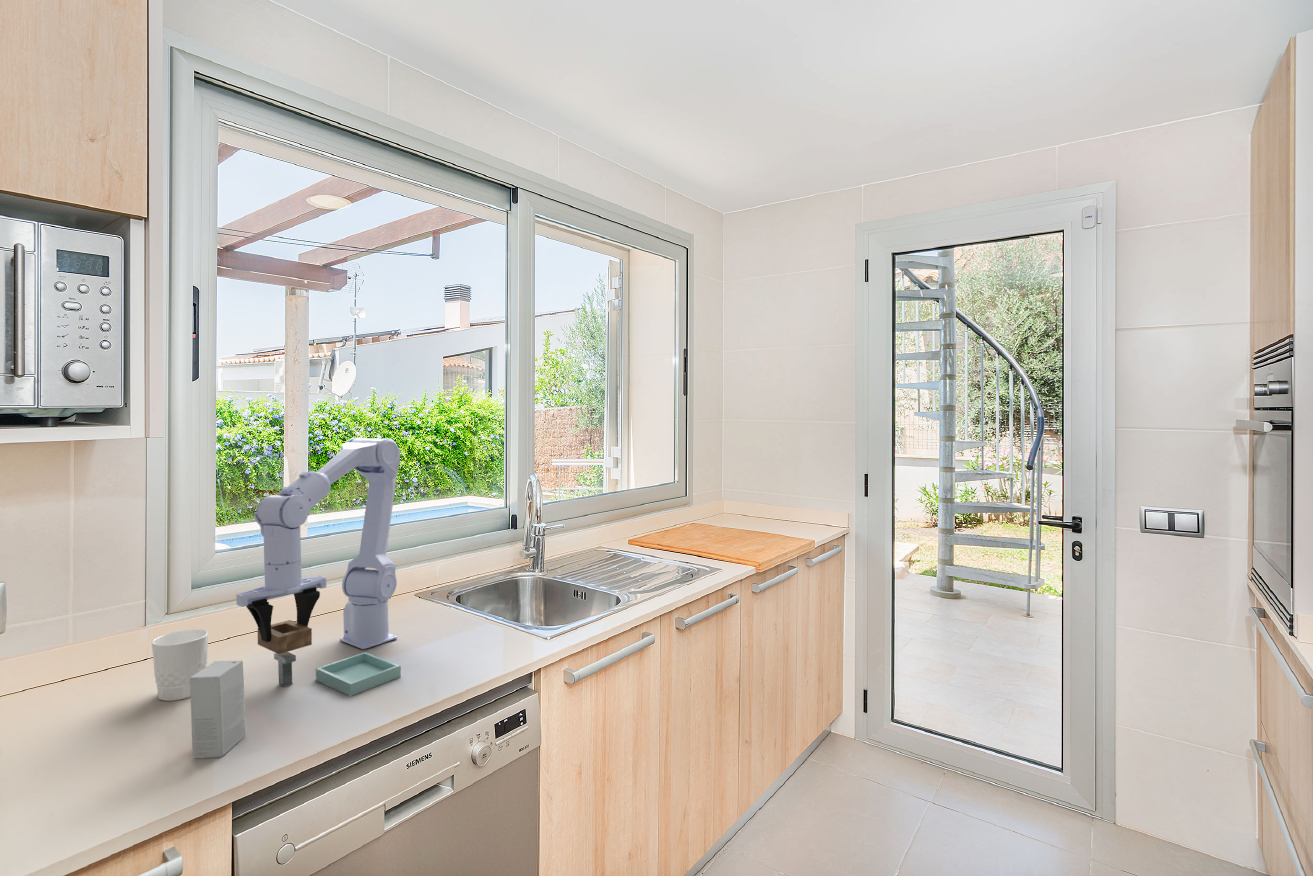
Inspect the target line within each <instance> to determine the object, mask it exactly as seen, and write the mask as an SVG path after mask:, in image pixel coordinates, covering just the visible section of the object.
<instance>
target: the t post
mask: <svg viewBox="0 0 1313 876" xmlns="http://www.w3.org/2000/svg"><path fill="white" fill-rule="evenodd" d="M273 660H276V661H277V663H278V665H277V669H278V672H277V673H278V685H279V686H280V687H283V688H284V687H287V686H290V685H292V684H293V663H294V662H296V660H297V657H296V655H295V654H293V653H291V652H290V651H289V652H285V653H282V654H277V653H275V652H273Z"/></svg>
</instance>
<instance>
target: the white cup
mask: <svg viewBox="0 0 1313 876" xmlns="http://www.w3.org/2000/svg"><path fill="white" fill-rule="evenodd" d="M208 647H209V631H207V630H205V629H195V628H194V629H185V630H177V631H173V632H169V633H166V634H163V635H161V636H158V637H155V638H154V639H153V640H152V641H151V648H152V662H153V671H154V678H155V684H156V689H157V690H156V691H157V698H158V700H160V701H166V702H170V701H171V702H172V701H173V702H174V701H178V700H183V699H187V698H190V677H192V676H193V675H195V674H197V673H198V672H200V671H201V670H203V669H204V668H206V667H207V666H208V657H209V656H208Z"/></svg>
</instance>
